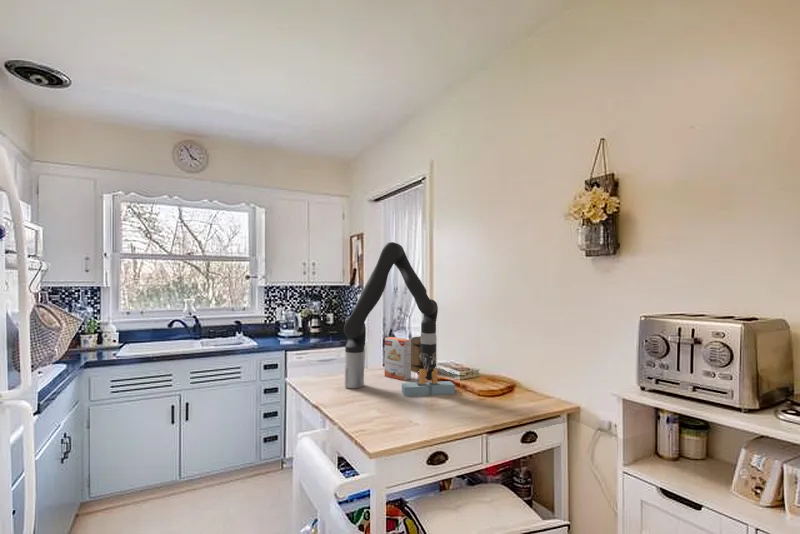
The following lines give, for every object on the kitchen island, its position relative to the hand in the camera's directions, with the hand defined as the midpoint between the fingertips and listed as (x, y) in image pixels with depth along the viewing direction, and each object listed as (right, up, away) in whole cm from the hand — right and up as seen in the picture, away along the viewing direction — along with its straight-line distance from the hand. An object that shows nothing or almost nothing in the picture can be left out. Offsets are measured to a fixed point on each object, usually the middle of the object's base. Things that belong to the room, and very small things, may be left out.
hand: (428, 378), depth 199 cm
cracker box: (-15, -7, +27) cm, 31 cm away
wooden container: (0, -7, +44) cm, 44 cm away
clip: (0, -2, 0) cm, 2 cm away
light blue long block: (0, -7, 0) cm, 7 cm away
